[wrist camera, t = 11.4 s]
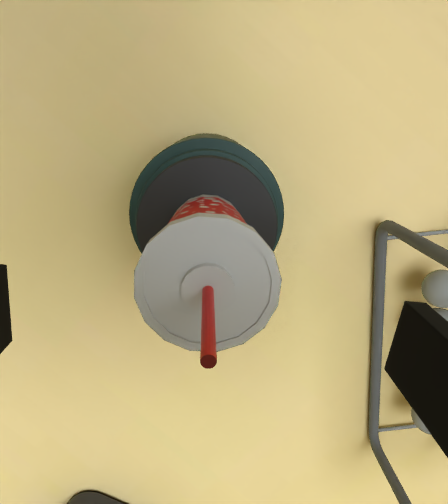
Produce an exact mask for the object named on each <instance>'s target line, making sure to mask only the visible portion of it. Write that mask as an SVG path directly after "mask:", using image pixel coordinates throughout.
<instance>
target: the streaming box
mask: <svg viewBox="0 0 448 504" xmlns="http://www.w3.org/2000/svg"><path fill="white" fill-rule="evenodd" d="M68 504H123V503H121V502H119V501H116V500H114V499H112V498H109V497H107V496H105V495H102V494H100V493H96V492H83V493H80V494H77V495H75V496H74V497H73V498H72V499H71V500H70V501H69V502H68Z"/></svg>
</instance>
